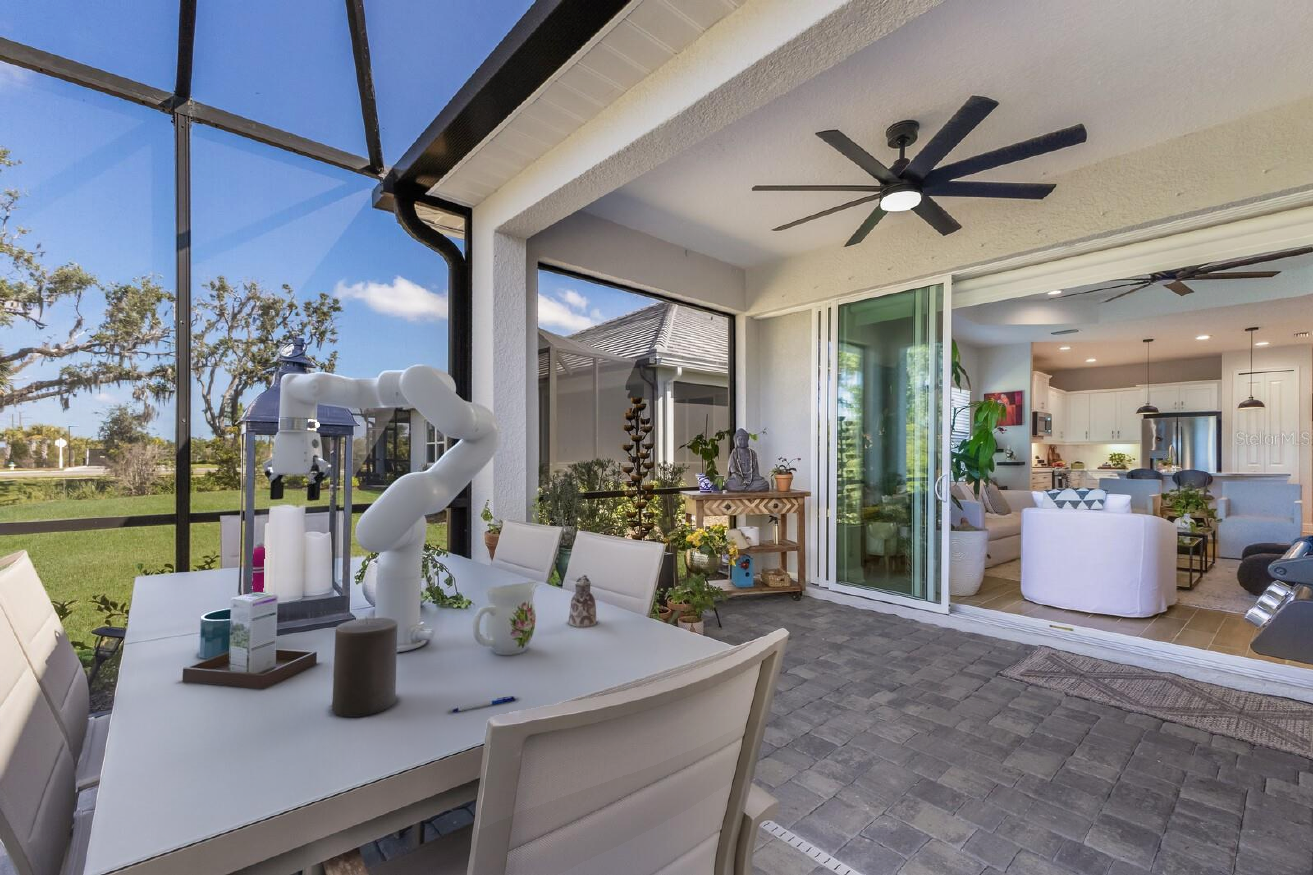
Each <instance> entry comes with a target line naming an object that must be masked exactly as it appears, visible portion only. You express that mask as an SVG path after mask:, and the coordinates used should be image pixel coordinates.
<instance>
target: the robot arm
mask: <svg viewBox="0 0 1313 875" xmlns="http://www.w3.org/2000/svg"><path fill="white" fill-rule="evenodd" d="M279 392H280V394H279V413H278V414H279V415H278V417H279V418H278V431H277V432H276V435H275V437H274V441H273V442H274V443H273V449H272V456H271V458H270V459H268V460H266V461H264V462H262V463H261V467H262V469H263V472H264V476H265V477H266V478H267V482H268V483H270V490H269V499H270V500H271V501H275V500H283V499H284V494H285V492H284V491H285V490H284V489H285V481H283V480H284V478H286V476H306V479H308V481H309V482H310V483H309V482H308V483H307V490H306V491H307V492H306V493H307V494H306V500H307V501H308V502H315V501H320V498H321V484H323V483H324V481H325V479H326V478H327V477H328V474H329V473H330V470H331V468H332V464H330V462H328V461H325V460H324V459H323V458H324V457H323V445H322V439H321V435H320V433H319V432H317V428H320V423H319V421H318V405H321V406H327V407H334V408H335V407H336V408H342V409H381V408H382V409H383V408H384V409H386V408H411V407H412V408H414V409H415V410H416V411H417V412H418V413H419V414H420V415H421V416H422V417H423V418H424V419H425V420H427V421H428V423H429V424H431V425H432V426H433V427H434V428H435V429H436V431H438V432H439V433H441V434H443V435H444V436H445V437H448V438H450V439H456V440H459V441H458V442H456V443H455V445H453V446H452V447H451V448H449V449H448V450H447V451H446V452H444V453H443V455H442V456H440V458H439V459H438V460H437V461H435V463H434V464H433V465H432V466H431V467H430V468H428V469H427V470H425V471H416V472H411V473H407V474H404V475H402V476H400V477H398V479H396V480H395V481H393V483H391V484H390V486H388V488H386V490H384V491H383V493H382V494H381V495H379V496H378V498H377V499H376V500H375V501H374V502H373V503H372V504H371V505H370V506H369V507H368V508H367V509H366V510H365V511H364V512H363V514H362V515H361V516H360V518H359V519H358V522H357V523H356V527H355V539H356V542H357V544H358V545H359V546H360V547H361V548H362V549H364V551H367V552H369V553H376V554H378V557H377V563H376V574H375V595H374V596H375V599H374V618H389V619H395V620H397V623H398V626H397V653H402V652H403V653H404V652H407V651H408V652H409V651H411V650H414V649H418V648H420V647H422V646H424V645H425V644H426V643H427V641H428V642H429V641H430V642H431V641H432V640H434V637H435V629H433V628H425V621H421V606H422V605H421V600H422V599H421V598H422V574H423V558H424V557H423V556H424V548H425V543H426V538H427V532H428V523H427V522H428V521H427V518H426V516H427V515H434V514H437V513H440V512H441V511H443V510H445V509H446V508H447V507H448V506H449V505H451V503H452V502H453V501H454V499H456V497H458V495H459V494H460V493H461V492H462V491H463V490H464V489H465V488H466V487H467V486H468V485H469V484H470V482H472V480H473V479H474V478H475V477H476V476H477V475H478V474H479V473H480V472H481V471H482V470H483V469H484V468H485V466H486V465H487V464H488V463H489V462H490V461H491V459H493V457H494V455H495V453H496V451H497V449H498V446H499V443H500V433H501V432H500V426H499V423H498V420H497V417H496V416H495V414H494V413H493V412H492V411H491V410H490V409H489V408H488V407H486V406H484V405H483V404H478V403H475V402H471V401H467V400H464V399H463V398H462V397H460V396H459V394H457V393H456V392H457V386H456V382H455V380H454V378H453V377H452V376H451V375H450V374H449V373H447V372H446V371H445V370H442V369H438V368H436V367H432V366H431V365H430V366H429V365H427V364H415V365H411V366H409V367H407V368H406V369H402V370H401V369H399V370H397V369H396V370H394V369H393V370H392V369H391V370H390V369H389V370H384V371H382V372H381V373H379V375H378V377H368V378H366V377H365V378H364V377H363V378H361V377H360V378H357V377H347V376H344V375H339V374H335V373H331V372H325V371H317V372H311V373H286V374H284V375H282V376H281V379H280V391H279Z"/></svg>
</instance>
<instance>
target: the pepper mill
mask: <svg viewBox="0 0 1313 875" xmlns="http://www.w3.org/2000/svg"><path fill="white" fill-rule="evenodd" d="M264 543H265V542H264V541H263V540H259V541H257V543H256V546H255V547H253V548H254V554H253V581H252V586H253V593H255V592H260V593H263V588H264V559H265V548H264V547H265V545H264Z"/></svg>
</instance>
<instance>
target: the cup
mask: <svg viewBox="0 0 1313 875" xmlns="http://www.w3.org/2000/svg"><path fill="white" fill-rule="evenodd" d="M230 617H231V607H230V608H223V609H219V610H214V611H210V612H207V613H204V614H202V615H201V616H200V618H199V637H198V638H199V639H198V657H199V658H201V659H203V660H207V659H210V658H213V657H216V656H218V655H221V654H224V653H227V652H229V646H230Z"/></svg>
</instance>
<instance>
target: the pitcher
mask: <svg viewBox="0 0 1313 875" xmlns="http://www.w3.org/2000/svg"><path fill="white" fill-rule="evenodd" d="M539 584H540V582H539V581H527V582H522V583H513V584H505V585H501V586H496V587H493V588H490V589H488V590H487V593H486V594H487V598H488V605H485V606H481V607H480V608H479V609H478V610H477V612H476V613H475V615H474V618H473V623H472V630H473V631H472V632H473V637H474V639H475V641H476V642H477V643H478V644H480V645H481V646H484V647H491V649H492V650H493V651H494V653H495V654H498V655H501V656H511V655H518V654H521V653H523V652H525V651H526V649H527V647H528V646H529V645H530V643H531V641H532V638H533V635H534V631H535V629H536V621H537V620H536V618H537V613H536V607H535V604H534V596H535V591H536V588H537V587H538V586H539ZM484 614H485V617H484V627H485V635H486V638H487V639H486V638H484V637H483V636H482V634H481V631H480V623H481V621H482V620H481V619H482V617H483V615H484Z"/></svg>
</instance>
